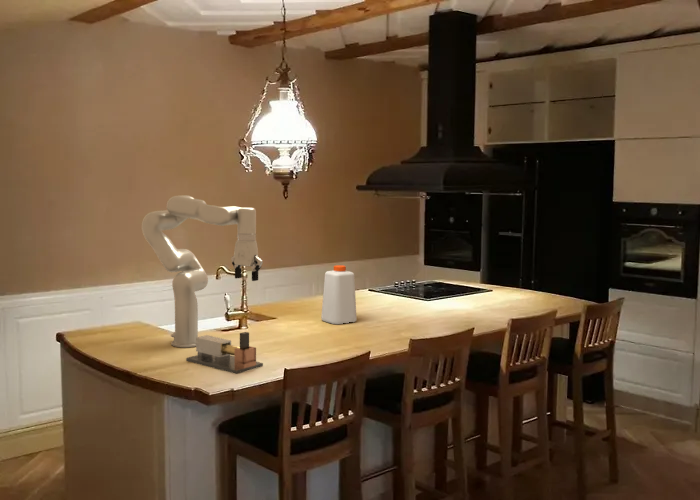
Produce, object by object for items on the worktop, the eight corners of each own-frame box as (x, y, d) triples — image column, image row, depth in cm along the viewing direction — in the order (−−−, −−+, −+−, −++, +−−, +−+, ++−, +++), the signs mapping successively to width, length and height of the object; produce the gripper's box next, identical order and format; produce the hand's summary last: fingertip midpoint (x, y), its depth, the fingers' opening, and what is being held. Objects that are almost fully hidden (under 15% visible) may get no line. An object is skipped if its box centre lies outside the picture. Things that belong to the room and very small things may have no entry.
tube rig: (186, 360, 288) (186, 338, 287) (213, 354, 300) (213, 333, 299) (236, 373, 272) (236, 350, 271) (262, 366, 283) (263, 343, 282)
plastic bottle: (359, 322, 367) (360, 266, 364) (334, 325, 359) (335, 268, 355) (343, 317, 379) (343, 263, 376) (318, 320, 371) (318, 265, 368)
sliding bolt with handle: (212, 351, 286) (212, 327, 285) (219, 350, 289) (219, 326, 288) (243, 359, 276) (243, 334, 275) (250, 357, 279) (250, 332, 278)
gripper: (225, 236, 302) (225, 278, 304) (255, 240, 291) (255, 282, 293) (238, 235, 308) (238, 276, 310) (268, 238, 297) (268, 280, 299)
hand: (246, 279), depth 301 cm, fingers open, 9 cm apart
